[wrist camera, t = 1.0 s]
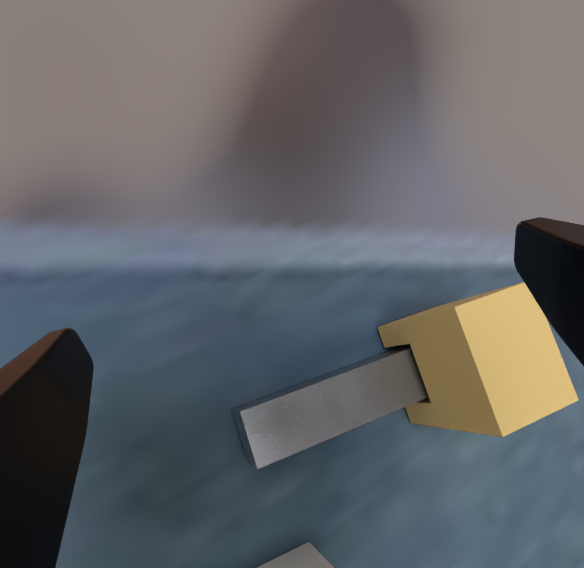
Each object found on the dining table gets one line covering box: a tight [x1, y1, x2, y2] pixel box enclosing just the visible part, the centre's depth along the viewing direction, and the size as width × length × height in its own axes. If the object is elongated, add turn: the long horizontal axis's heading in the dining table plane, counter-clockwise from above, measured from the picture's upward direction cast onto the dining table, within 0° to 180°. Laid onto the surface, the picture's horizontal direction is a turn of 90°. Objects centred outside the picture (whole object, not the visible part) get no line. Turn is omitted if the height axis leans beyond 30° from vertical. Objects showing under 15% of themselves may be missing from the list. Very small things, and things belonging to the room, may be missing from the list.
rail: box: [231, 344, 429, 469], centre depth 28 cm, size 3×16×3 cm, turn 108°
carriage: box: [377, 282, 578, 437], centre depth 27 cm, size 6×5×8 cm
